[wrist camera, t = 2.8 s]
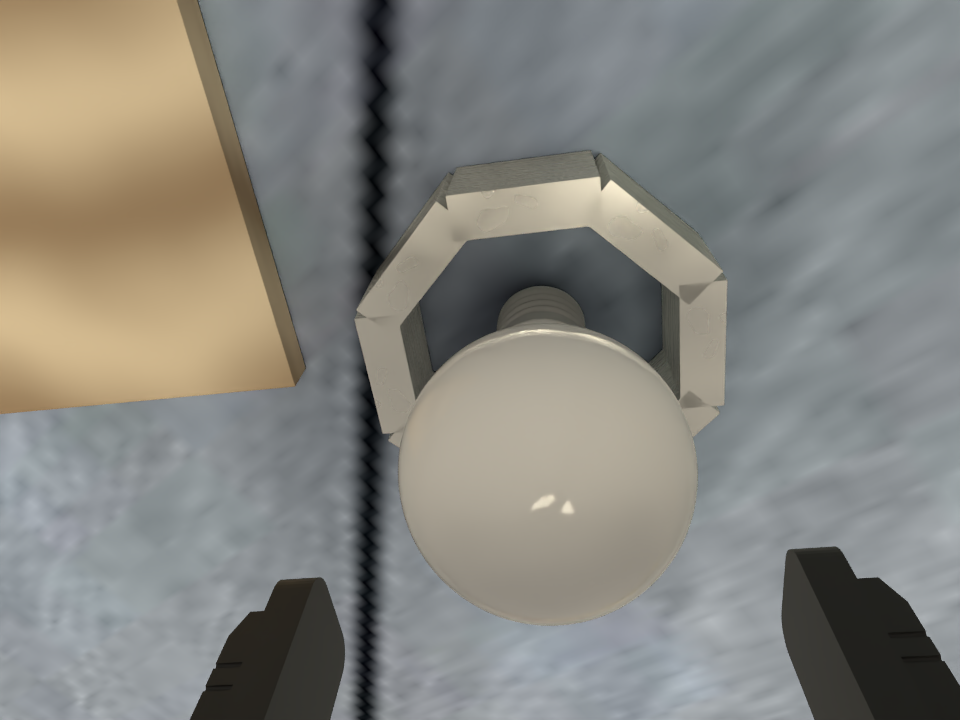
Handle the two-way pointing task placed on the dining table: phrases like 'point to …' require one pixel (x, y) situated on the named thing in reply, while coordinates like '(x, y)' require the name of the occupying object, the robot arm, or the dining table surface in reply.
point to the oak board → (127, 214)
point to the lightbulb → (547, 468)
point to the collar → (537, 208)
